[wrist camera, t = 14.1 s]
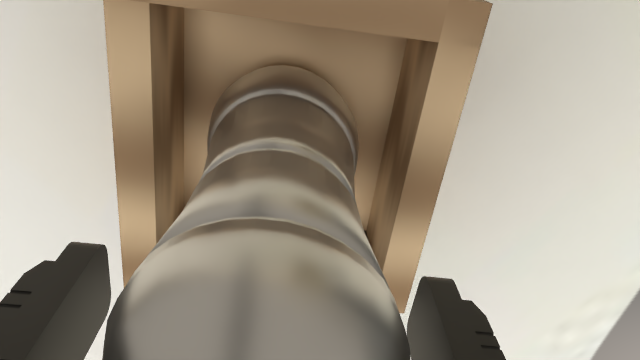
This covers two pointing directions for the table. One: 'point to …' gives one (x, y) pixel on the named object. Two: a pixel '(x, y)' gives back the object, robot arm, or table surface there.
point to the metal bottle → (265, 242)
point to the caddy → (307, 53)
